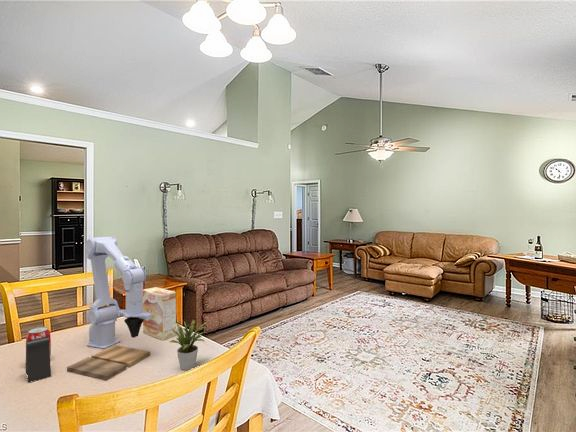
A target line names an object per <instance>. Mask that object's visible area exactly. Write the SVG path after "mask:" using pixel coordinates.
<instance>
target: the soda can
mask: <svg viewBox="0 0 576 432" xmlns="http://www.w3.org/2000/svg"><path fill="white" fill-rule="evenodd" d="M25 337H26V338H25V342H26V341H31V340H35V339H40V338H44V337H49V351H50V358H51V356H52V355H51V354H52V352H51V351H52V344H51V343H52V341H51V338H52V337H51V331H50V330H49V327H47V326H38V327H34V328H31V329H29V330H28V332H27V335H26V336H25Z"/></svg>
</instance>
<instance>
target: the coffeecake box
mask: <svg viewBox="0 0 576 432" xmlns="http://www.w3.org/2000/svg"><path fill="white" fill-rule="evenodd" d="M176 293H177V292H176V291H175V290H170V289H166V288H161V287H157V286H154V287H150V288H145V289H144V288H143V311H145V312H147V313H150V314H152V319H150V320H148V321H147V320H146V319H144V321H143V323H142V324H143V325H142V328H143V329H142V333H143V334H144V335H147V336H151V337H153V338H155V339H158V340H160V341H165V339H166V340H167V338H168V339H170V338H173V337H175V335H176V336H177V334H175V332H174V331H176V332H177V325H176V323H177V304H176V303H177V302H176V301H177V297H176V295H177V294H176ZM175 322H176V323H175ZM171 329H172V330H174V331H172V330H171Z"/></svg>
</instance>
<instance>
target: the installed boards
mask: <svg viewBox="0 0 576 432" xmlns="http://www.w3.org/2000/svg"><path fill="white" fill-rule="evenodd" d="M126 370H127V367H126V365H124V364H119V363H115V362H110V361H105V360H100V359H96V358H91V356H90V357H89V356H88V357H85V358H83V359H82V360H79V361H77V362H75V363H72V364H71V365H68V366H66V372H68V373H72V374H76V375H81V376H86V377H87V378H94V379H97V380H101V381H108V380H111V379H112V378H114V377H116V376H117V375H119V374H121V373H123V372H124V371H126Z"/></svg>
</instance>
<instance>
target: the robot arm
mask: <svg viewBox="0 0 576 432" xmlns="http://www.w3.org/2000/svg"><path fill="white" fill-rule="evenodd" d="M84 246H85V254H86V258H87V259H88V260H90V263H91V264H90V265H91V272H92V278H93V285H94V292H95V293H94V294H95V300H94V302H93V303H92V304H91V305H90V306H89V315H88V316H89V317H88V318H89V321H90V323H91V324H90V325H89V328H88V339H89V340H88V342H89V343H87V344H86V345H87V346H89V347H93V348H97V349H102V350H104V349H106V348H109V347H111V346H113V345H117V344H118V343H120V342H121V340H120V339H116V322H117V321H118V320H117V319H119V317H122V316H123V318H125V319H124V321H123V322H124V323H125V324H126V326H127V329H128V330H129V334H130V337H131V338H134V339H135V338H137V337H139V334H140V330H141V328H142V326H143V325H142V324H143V321H144V319H146V320H147V321H148V320H150V319H152V314H150V313H147V312H145V311H143V290H144V286H143V283H144V282H145V281H146V279H147V273H146V271H145V269H144V267H142V266H137V265H136V264H135V263H134V261H132V259H131V258H130V257H129V256H127V255H123V253H122V252H121V249H119V247H118V242H117V239H116V238H115V236H113V235H110V236H102V237H101V236H99V237H88V238H87V240H86V242H85V245H84ZM108 257H110V258H111V260H112V261H114V267H115V268H116V270H117V271H118V272H119V273H120V274H121V276H122V277H121V278H122V282H123V289H124V290H125V309H120V307H119V304H118V301H117V300H116V299H115V298H112V297H111V292H110V286H109V279H108V272H107V266H106V265H107V264H106V259H107V258H108Z"/></svg>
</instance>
